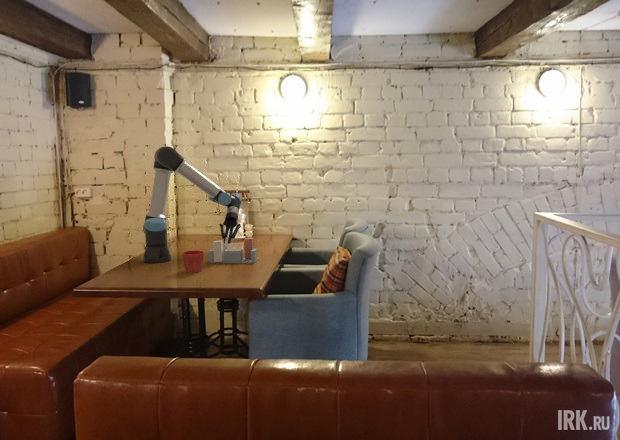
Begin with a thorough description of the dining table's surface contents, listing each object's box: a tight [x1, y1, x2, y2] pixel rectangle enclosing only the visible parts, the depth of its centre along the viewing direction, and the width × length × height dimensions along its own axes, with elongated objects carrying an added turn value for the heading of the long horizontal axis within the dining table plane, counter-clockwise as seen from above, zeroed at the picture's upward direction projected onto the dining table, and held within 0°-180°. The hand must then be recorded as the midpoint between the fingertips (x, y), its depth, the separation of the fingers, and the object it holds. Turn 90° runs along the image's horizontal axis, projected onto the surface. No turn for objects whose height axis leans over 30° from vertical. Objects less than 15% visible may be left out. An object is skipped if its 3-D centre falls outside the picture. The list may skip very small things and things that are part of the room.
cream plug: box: [212, 239, 224, 262], centre depth 274 cm, size 4×4×11 cm
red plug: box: [243, 237, 255, 259], centre depth 281 cm, size 4×4×11 cm
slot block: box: [208, 248, 260, 264], centre depth 279 cm, size 25×12×7 cm, turn 85°
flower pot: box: [181, 250, 205, 274], centre depth 253 cm, size 11×11×10 cm
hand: (226, 247), depth 290 cm, fingers closed
